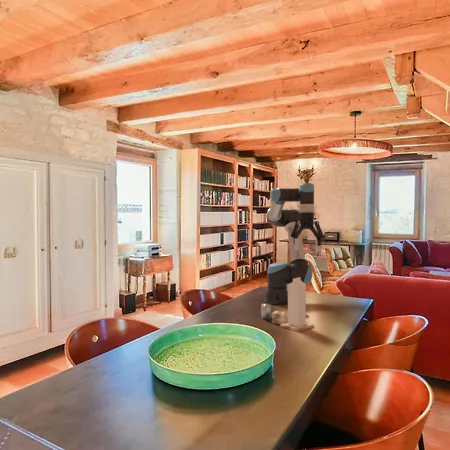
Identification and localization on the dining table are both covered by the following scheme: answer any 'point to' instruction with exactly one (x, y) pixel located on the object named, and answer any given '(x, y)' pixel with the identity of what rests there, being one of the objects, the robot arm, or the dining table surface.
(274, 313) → the beech cube
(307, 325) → the plate
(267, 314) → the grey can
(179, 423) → the dining table surface
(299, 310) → the milk
